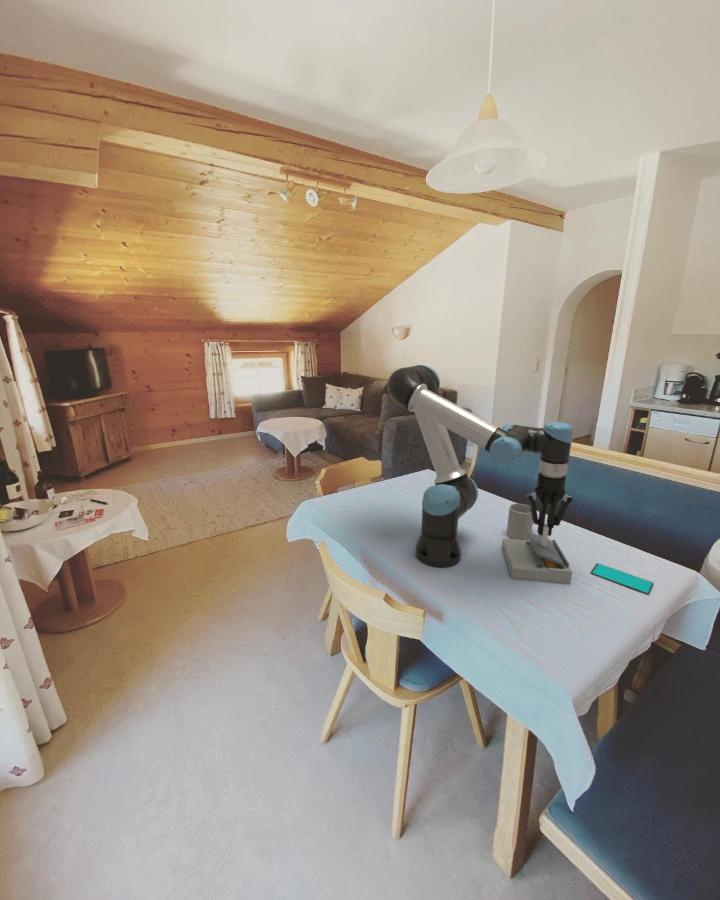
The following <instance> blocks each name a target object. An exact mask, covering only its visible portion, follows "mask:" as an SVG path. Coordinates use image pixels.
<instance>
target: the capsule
mask: <svg viewBox="0 0 720 900" xmlns="http://www.w3.org/2000/svg"><path fill="white" fill-rule="evenodd" d="M541 558H542V557H541ZM542 560H543V562H544V564H545V566H546V568H556V566H555V564H554V562H552V561H550V560H547V559H545V558H542Z"/></svg>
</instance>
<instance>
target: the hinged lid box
mask: <svg viewBox="0 0 720 900" xmlns="http://www.w3.org/2000/svg"><path fill="white" fill-rule="evenodd" d="M551 542H552V540H551ZM552 544H553V542H552ZM553 545H554V544H553ZM554 547H555V546H554ZM555 549H556V547H555ZM501 550H502V553H503V555H504V556H503V557H504V559H505V561H506V565H507V568H508V571H509V575H510V577H511V579H512V580H513V579H514V580H522V581H523V580H524V581H532V582H533V581H534V582H535V581H536V582H546V583H556V584H558V583H559V584H567V585H568V584H569V585H571V582H572V577H573V570H572V569H571V566H570V565H569V566H566V565H565V563H564V561H563V560H562V561H563V563H564V564H563V566H562V565H560V564H557V563H555V562H554V564H555V566H556V568H546V566H545V564H544V562H543V560H542V558H541V557H540V556H537V554H536V552H535V550H534V548H533V546H532V544H531V541H530V539H529V540H516V539H512V538H502V541H501ZM556 551H557V549H556ZM557 552H558V551H557ZM558 554H559V553H558ZM559 556H560V554H559ZM560 558H561V556H560ZM561 559H562V558H561Z"/></svg>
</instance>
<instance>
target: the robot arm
mask: <svg viewBox="0 0 720 900" xmlns="http://www.w3.org/2000/svg"><path fill="white" fill-rule="evenodd" d="M440 385H441V379H440V376H439V374H438V372H437V371H436V370H435V369H434V368H433V367H431V366H429V365H423V364H416V365H413V366H407V367H401V368H400V367H399V368H398V369H396V370H394V371H393V372H392V373H391V375H390V376H389V377H388V380H387V386H386V387H387V388H386V389H387V392H388V395H389V396H390V398H391V400H393V402H395V403H396V404H397V405H399V406H400V407H402V408H403V409H405V410H407V411H409V412H413V413H414V414H415V418H416V421H417V422H418V426H419V429H420V431H421V433H422V438H423V440H424V443H425V446H426V448H427V452H428V454H429V458H430V460H431V464H432V466H433V468H434V471H435V474H436V477H435V479H434V480H433V481H434V485H431V486H429V487H428V488H426V489H425V490H424V492H423V496H422V500H421V507H422V508H421V509H422V510H421V533H420V535H419V537H418V540H417V542H416V545H415V556H416V558H417V559H418V561H420V563H423V564H425V565H428V566H430V567H435V568H448V567H453V566H455V565H457V564H459V562H460V561H461V559H462V549H461V544H460V541H459V538H458V528H459V527H458V526H459V525H458V524H459V519H460V518H461V517H463V516H464V515H465V514H466V512H467V511H469V510H471V509H472V507H474V506H475V503H476V502H477V500H478V497H479V489H478V485H477V483H476V482H475V481H474V479H472V478H470V477H469V475H468V473H467V471H466V470H464V469H463V468H461V466H460V463H459V460H458V457H457V454H456V451H455V449H454V446H453V443H452V441H451V438H450V434H449V432H448V430H450V432H453V433H455V434H457V435H458V436H460V437H462V438H464V439H465V440H467V441H469V442H470V443H472V444H474V445H476V446H477V447H480V448H481V449H483V450H485V451H486V452H488V453H489V454H490V456H491V459H493V461H494V462H495V463H497V464H499V465H510V464H511V463H514V462H516V461H517V460H518V459H519V458H520V457H521V456H522V455H523V454H524V453H526V452H528V453H534V454H540V457H539V458H540V461H539V465H538V472H539V473H538V474H537V484H536V487H535V489H534V491H532V492H527V493H526V498H527V499H528V500H529V506H530V508H531V514H532V520H533V522H534V524H533V525H537V530H536V531H537V535H539V536H540V539H539V542H540V544H541V546H546V545H547V539H549V538H548V536H549V537H550V536H551V535H552V533H553V532H552V531H553V529H554V526H556V527H558V526H560V525H561V522H562V520H563V517H564V515H565V513H566V511H567V508H568V506H569V505H570V503H572V502H573V500H574V499H573V498H572V497H571V495H570V494H566V491H565V487H566V482H567V477H566V475H567V473H568V469H569V468H568V467H569V461H570V460H569V459H570V453H571V447H572V443H573V426H572V425H570V424H569V423H568V422H567V423H566V422H561V421H549V422H546V423H545V424H544V426H543V427H533V426H525V425H519V424H509V423H508V424H507V423H506V424H504V425H503V426H502V427H499V426H498V425H496V424H494V423H491V422H490V421H488V420H486V419H484V418H482V417H481V416H479V415H477V414H475V413H473V412H471V411H469V410H467V409H465V408H464V407H461V406H459V405H458V404H456V403H454V402H452V401H450V400H449V399H446V398H445V397H443V396H441V395H440V393H439V392H440V391H439V389H440ZM537 498H538V500H539V503H540V505H539V512H537V511H538V510H537V505H536V501H535V500H536V499H537ZM559 501H560V504H559V506H558V505H557V504H558V502H559ZM557 506H558V507H557ZM547 508H548V509H547ZM556 508H557V510H556ZM547 510H548V511H547ZM546 516H547V517H546ZM545 521H546V523H545Z"/></svg>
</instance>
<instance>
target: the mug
mask: <svg viewBox="0 0 720 900" xmlns="http://www.w3.org/2000/svg"><path fill="white" fill-rule="evenodd" d="M533 525H535V524H534V522H533V520H532V514H531V508H530V504H529V505H528V504H526V503H525V504H524V503H512V504H510V506H509V508H508V517H507V524H506V526H507V527H506V535H507V537H509V539H516V540H529V541H530V539H529V537H528V535H527V533H526V532H527V531H529V532H532V533H533Z"/></svg>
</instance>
